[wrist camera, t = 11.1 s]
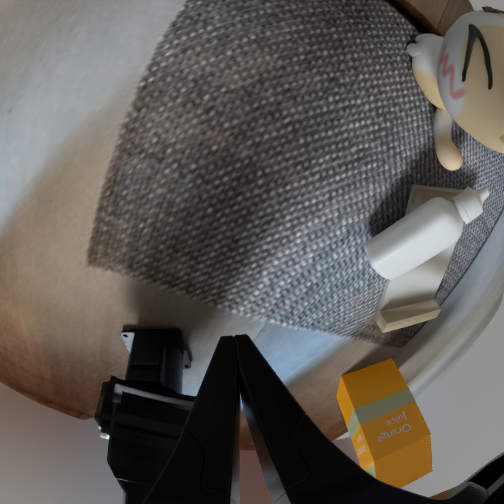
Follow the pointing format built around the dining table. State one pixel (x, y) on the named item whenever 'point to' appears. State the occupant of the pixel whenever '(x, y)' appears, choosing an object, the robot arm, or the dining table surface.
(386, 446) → the orange juice
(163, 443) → the robot arm
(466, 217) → the eye dropper bottle
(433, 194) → the u rest
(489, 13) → the kitten
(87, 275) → the dining table surface
